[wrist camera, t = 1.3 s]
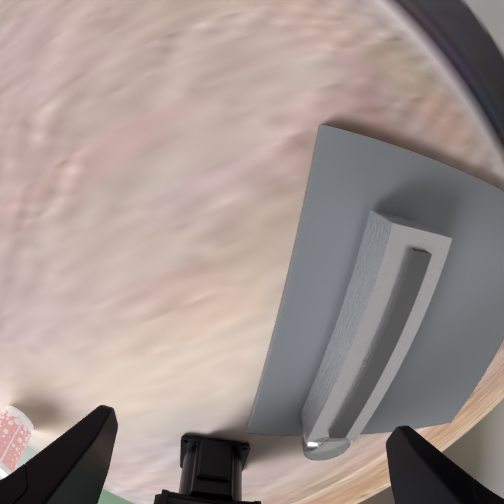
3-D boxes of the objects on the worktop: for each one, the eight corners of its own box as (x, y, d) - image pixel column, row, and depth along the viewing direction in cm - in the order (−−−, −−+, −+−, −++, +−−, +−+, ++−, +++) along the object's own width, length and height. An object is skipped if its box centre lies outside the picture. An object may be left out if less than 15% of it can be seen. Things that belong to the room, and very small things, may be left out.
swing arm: (335, 433, 23) (343, 463, 19) (291, 433, 22) (296, 464, 19) (425, 223, 17) (456, 240, 13) (370, 209, 16) (396, 225, 13)
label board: (447, 416, 26) (451, 423, 25) (247, 424, 24) (247, 434, 23) (541, 213, 18) (550, 216, 17) (319, 125, 16) (324, 124, 15)
